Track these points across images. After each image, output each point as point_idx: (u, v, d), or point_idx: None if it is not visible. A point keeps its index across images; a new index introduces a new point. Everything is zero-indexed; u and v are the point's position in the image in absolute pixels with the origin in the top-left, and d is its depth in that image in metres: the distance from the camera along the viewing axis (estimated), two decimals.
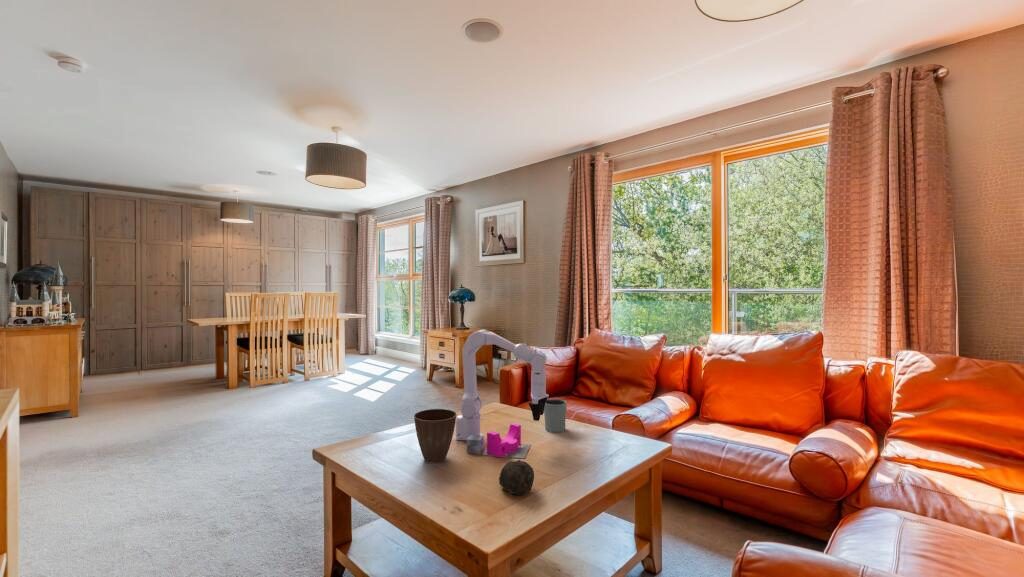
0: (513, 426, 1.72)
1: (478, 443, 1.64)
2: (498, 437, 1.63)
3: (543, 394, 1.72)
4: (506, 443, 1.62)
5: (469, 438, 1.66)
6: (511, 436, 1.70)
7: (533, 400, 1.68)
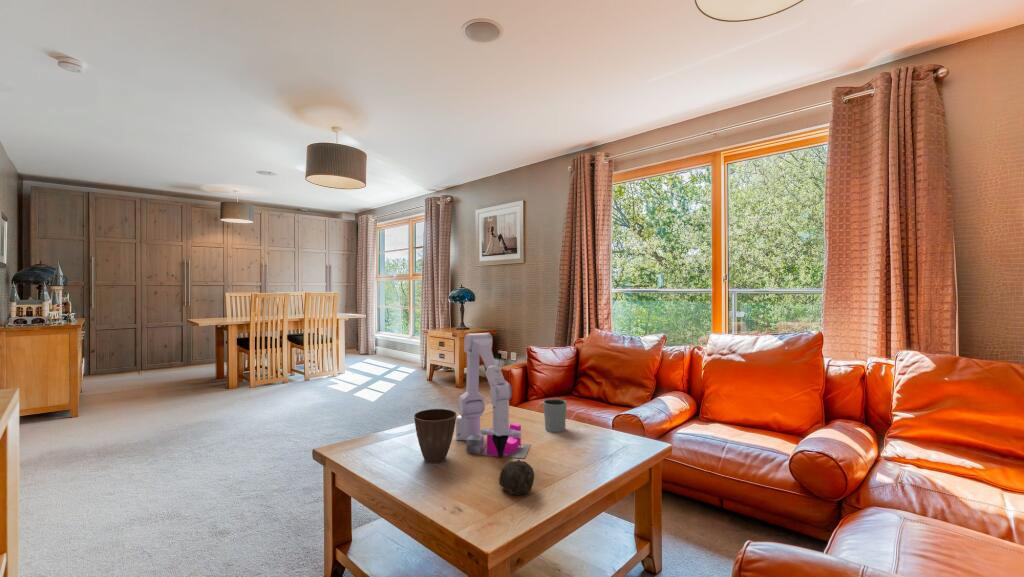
0: (513, 426, 1.72)
1: (478, 443, 1.64)
2: None
3: (494, 430, 1.55)
4: (506, 443, 1.62)
5: (469, 438, 1.66)
6: None
7: None
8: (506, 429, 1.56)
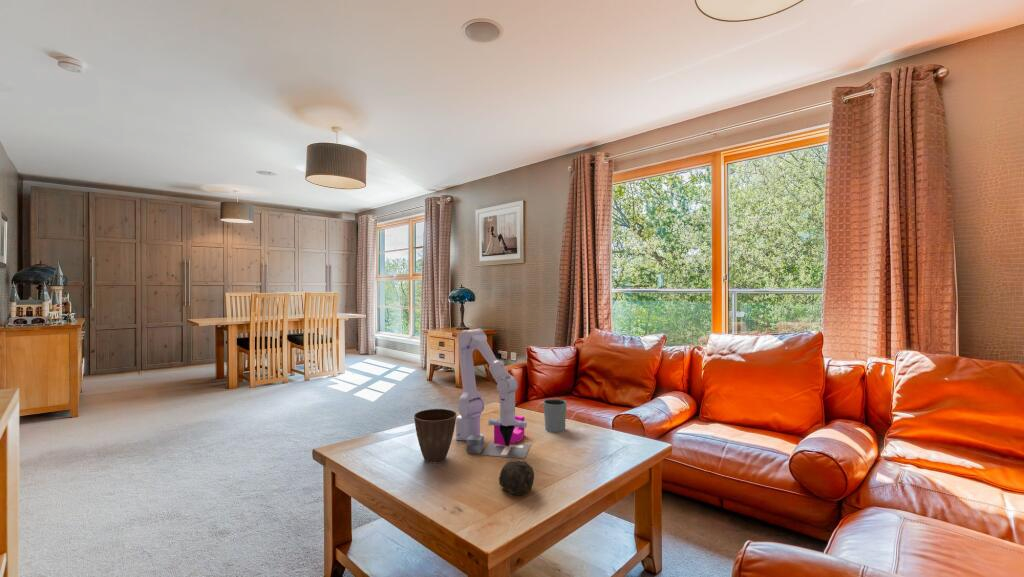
0: (517, 418, 1.83)
1: (478, 443, 1.64)
2: None
3: (501, 421, 1.66)
4: (512, 433, 1.74)
5: (469, 438, 1.66)
6: (516, 427, 1.81)
7: None
8: (512, 420, 1.66)
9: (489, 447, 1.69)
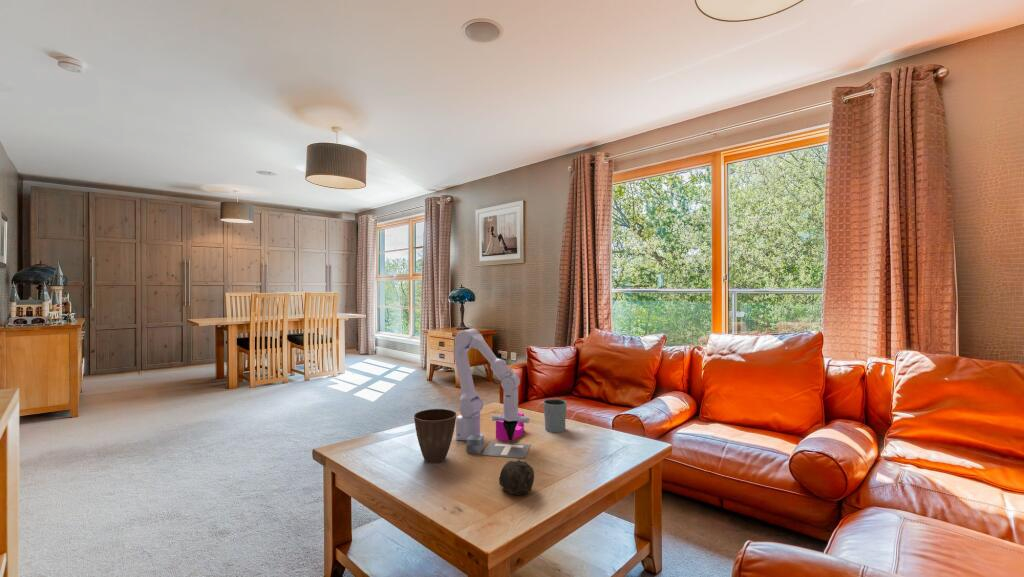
0: None
1: (478, 443, 1.64)
2: None
3: (505, 416, 1.72)
4: None
5: (469, 438, 1.66)
6: None
7: None
8: (516, 415, 1.72)
9: (489, 447, 1.69)
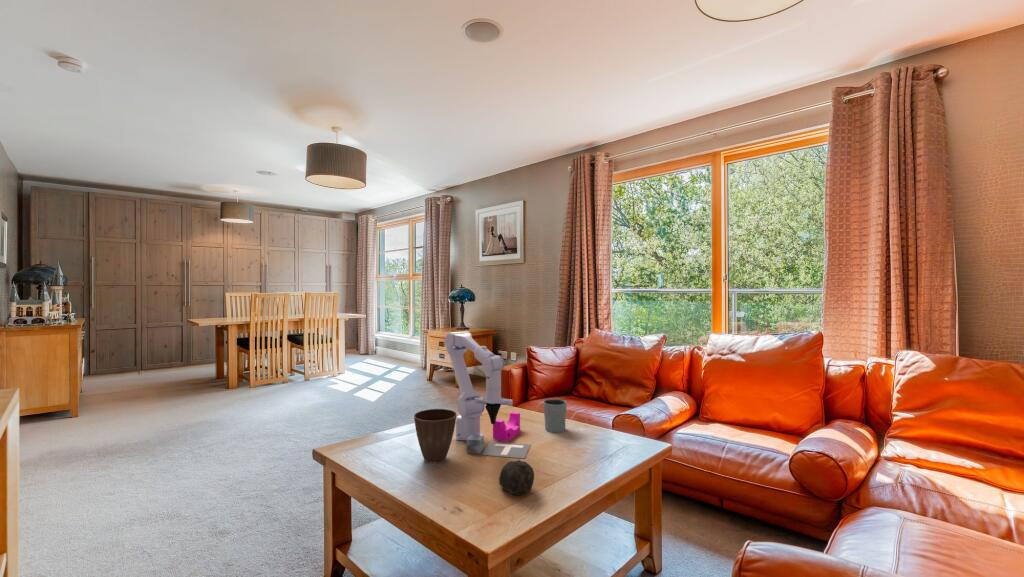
0: (513, 414, 1.90)
1: (478, 443, 1.64)
2: (503, 424, 1.80)
3: (487, 399, 1.67)
4: (511, 429, 1.80)
5: (469, 438, 1.66)
6: (512, 423, 1.88)
7: None
8: (498, 398, 1.68)
9: (489, 447, 1.69)
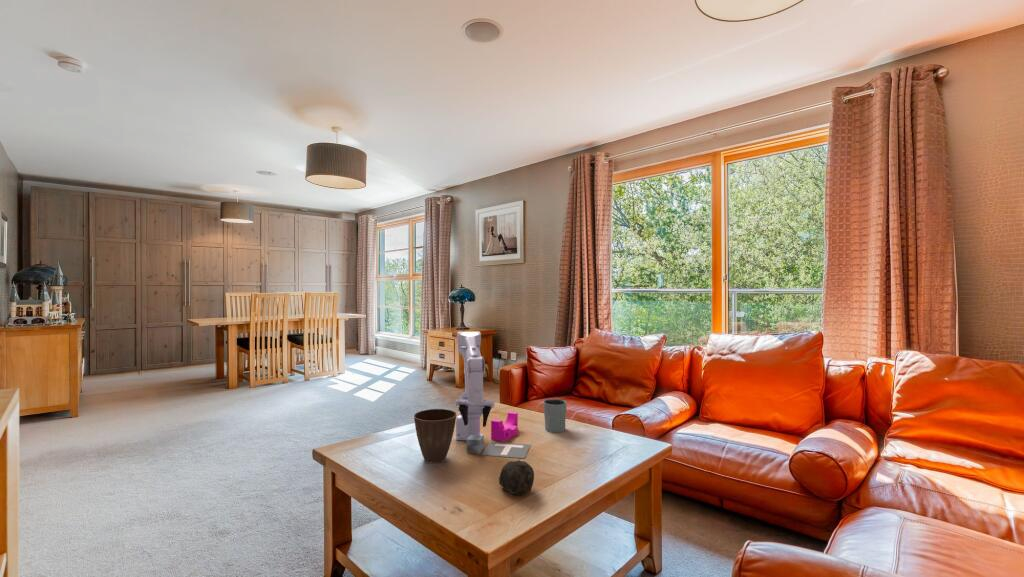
0: (511, 414, 1.90)
1: (478, 443, 1.64)
2: (501, 424, 1.80)
3: (469, 401, 1.65)
4: (509, 429, 1.80)
5: (469, 438, 1.66)
6: (510, 423, 1.88)
7: None
8: (480, 399, 1.65)
9: (489, 447, 1.69)
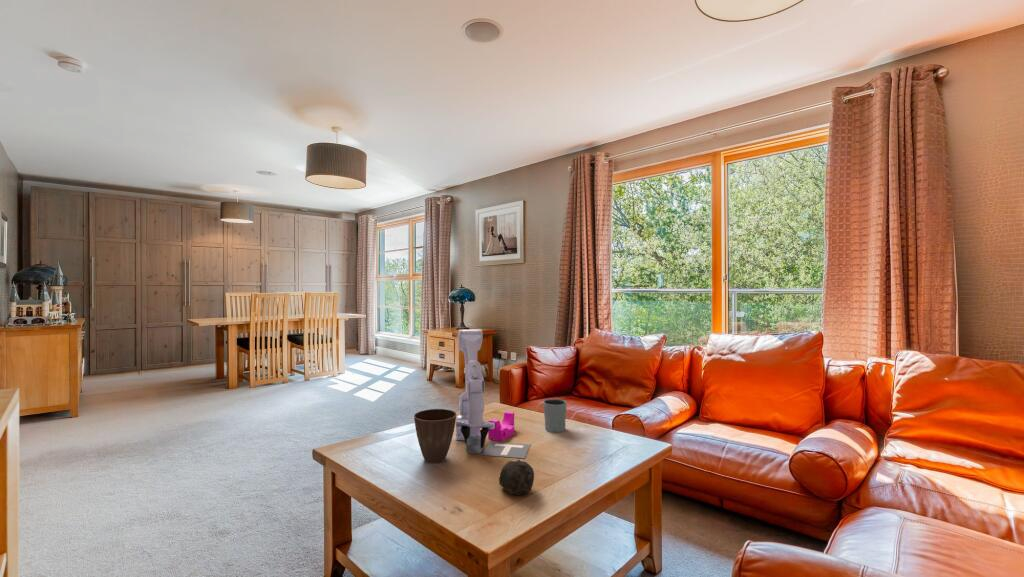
0: (507, 414, 1.90)
1: (478, 443, 1.64)
2: (499, 424, 1.80)
3: (469, 422, 1.65)
4: (506, 429, 1.80)
5: (469, 438, 1.66)
6: (507, 423, 1.88)
7: None
8: (480, 421, 1.65)
9: (489, 447, 1.69)
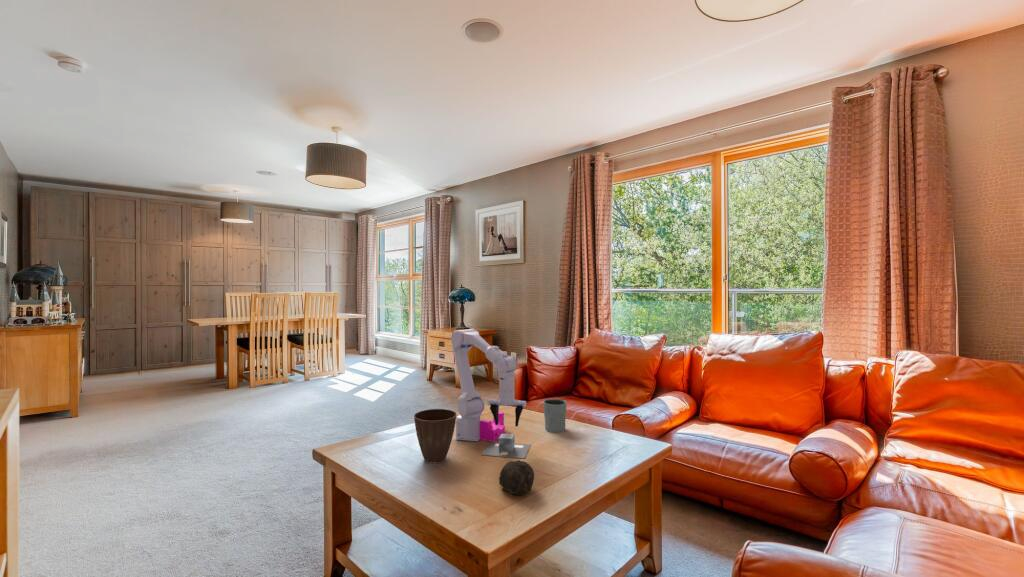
0: None
1: (510, 442, 1.64)
2: (490, 424, 1.80)
3: (501, 400, 1.65)
4: (498, 429, 1.80)
5: (501, 437, 1.66)
6: None
7: None
8: (512, 399, 1.65)
9: (489, 447, 1.69)
